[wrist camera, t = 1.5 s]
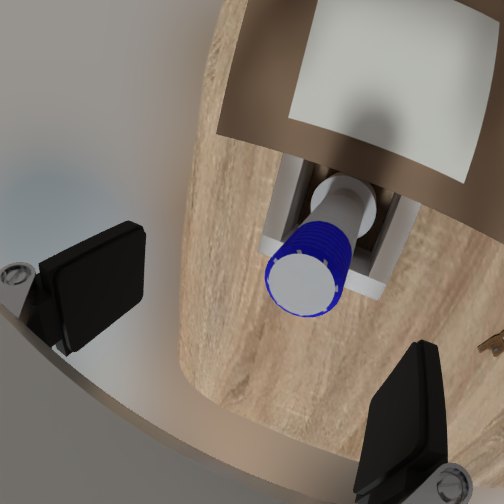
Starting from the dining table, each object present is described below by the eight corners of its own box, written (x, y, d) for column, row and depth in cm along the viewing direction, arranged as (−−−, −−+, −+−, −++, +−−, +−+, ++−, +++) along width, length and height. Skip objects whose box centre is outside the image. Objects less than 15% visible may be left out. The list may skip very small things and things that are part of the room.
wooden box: (509, 59, 14) (556, 34, 7) (429, 293, 25) (440, 357, 17) (303, -10, 19) (266, -60, 11) (246, 220, 29) (194, 255, 22)
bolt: (319, 227, 27) (317, 170, 25) (376, 230, 25) (376, 171, 23) (246, 330, 14) (234, 219, 12) (360, 346, 12) (370, 225, 10)
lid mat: (498, 23, 9) (499, 22, 8) (462, 182, 13) (463, 183, 13) (327, -33, 11) (326, -35, 11) (289, 117, 16) (288, 117, 16)
